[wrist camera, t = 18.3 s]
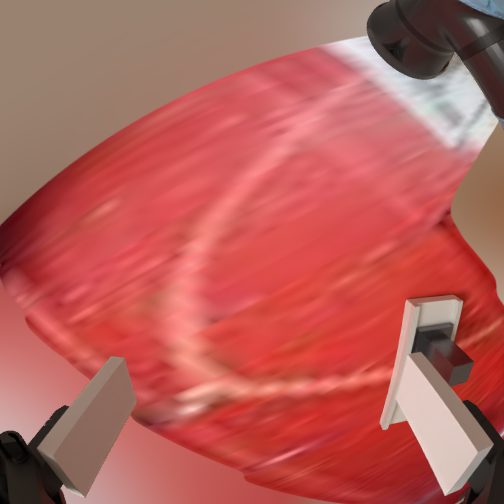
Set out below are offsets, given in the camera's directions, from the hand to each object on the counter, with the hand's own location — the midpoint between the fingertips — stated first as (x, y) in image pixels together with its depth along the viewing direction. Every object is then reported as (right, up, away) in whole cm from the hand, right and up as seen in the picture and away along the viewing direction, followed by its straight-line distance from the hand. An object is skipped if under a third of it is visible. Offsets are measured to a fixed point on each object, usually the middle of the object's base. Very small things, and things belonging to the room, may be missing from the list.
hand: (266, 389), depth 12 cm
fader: (+28, -9, +28) cm, 41 cm away
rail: (+29, -14, +31) cm, 45 cm away
